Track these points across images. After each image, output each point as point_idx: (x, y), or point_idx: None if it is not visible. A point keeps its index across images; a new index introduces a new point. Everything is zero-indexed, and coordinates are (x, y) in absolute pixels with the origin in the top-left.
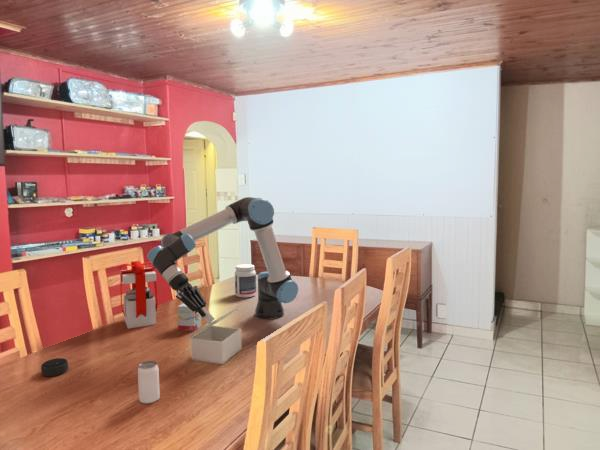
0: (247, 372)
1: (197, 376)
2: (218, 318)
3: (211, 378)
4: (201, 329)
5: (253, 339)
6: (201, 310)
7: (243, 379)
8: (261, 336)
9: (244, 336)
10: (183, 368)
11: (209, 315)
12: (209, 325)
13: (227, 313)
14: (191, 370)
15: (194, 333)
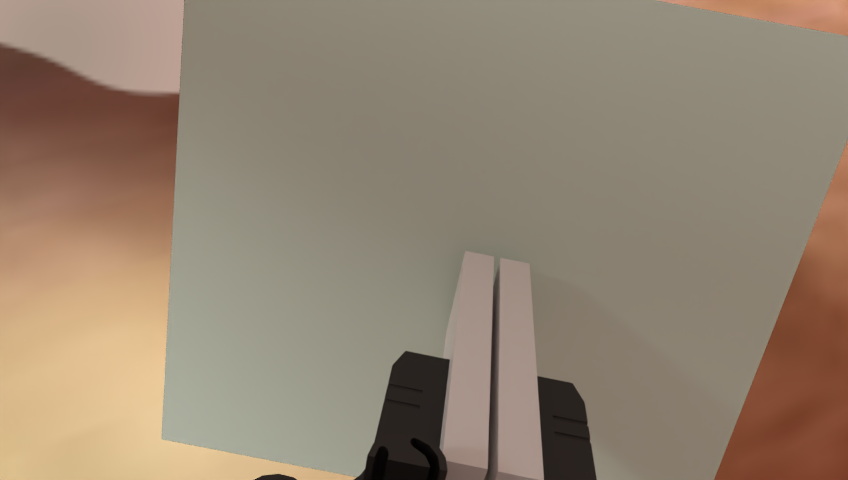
0: (689, 5)
1: (838, 305)
2: (199, 295)
3: (835, 199)
4: (762, 346)
5: (93, 98)
6: (566, 476)
7: (787, 5)
8: (21, 52)
9: (21, 188)
10: (749, 469)
11: (508, 311)
12: (813, 201)
13: (196, 123)
14: (764, 389)
15: (717, 458)
